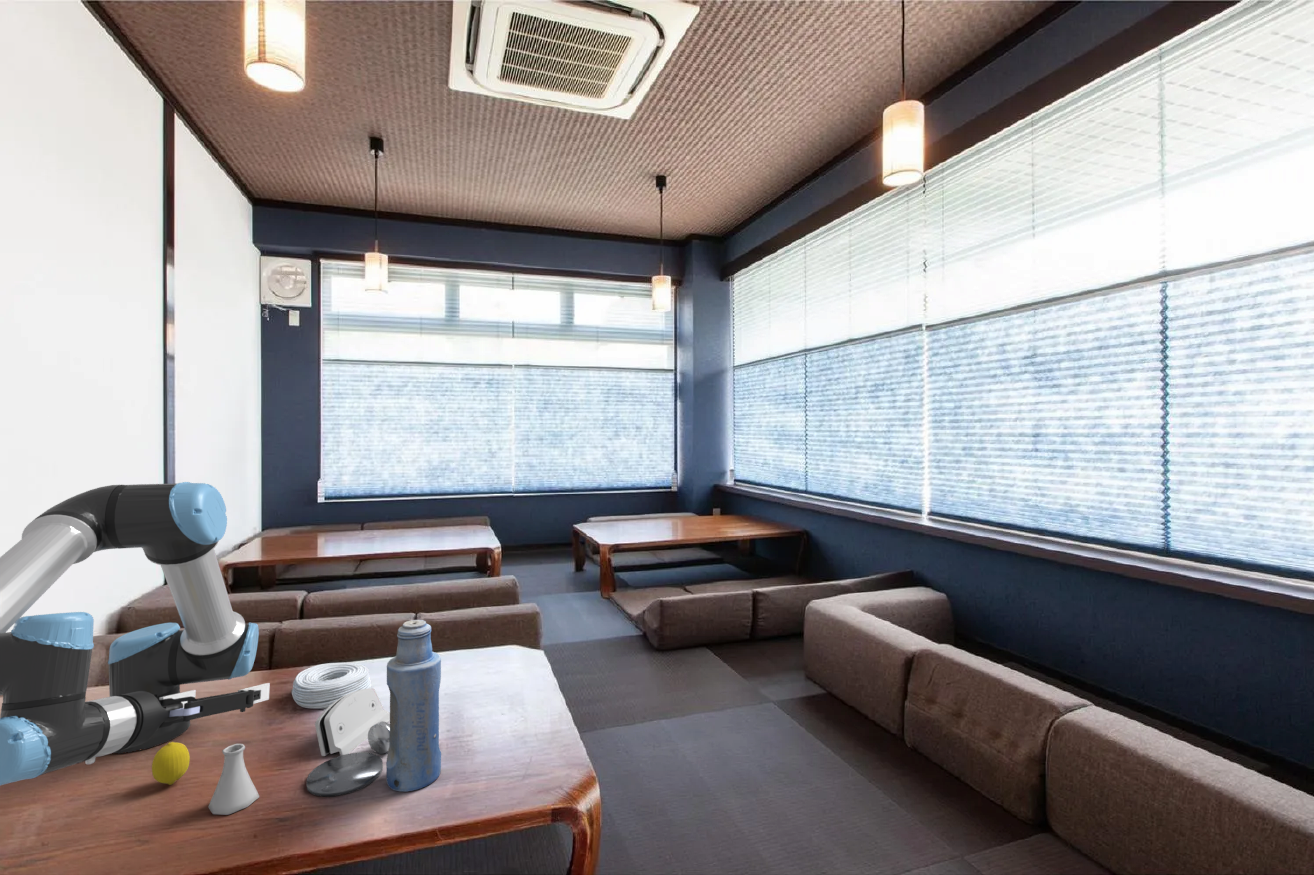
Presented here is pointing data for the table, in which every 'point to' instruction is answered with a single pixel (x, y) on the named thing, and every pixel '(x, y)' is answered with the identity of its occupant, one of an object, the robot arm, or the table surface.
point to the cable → (328, 683)
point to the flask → (233, 784)
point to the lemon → (170, 763)
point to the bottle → (414, 710)
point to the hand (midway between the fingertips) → (230, 694)
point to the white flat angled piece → (349, 721)
